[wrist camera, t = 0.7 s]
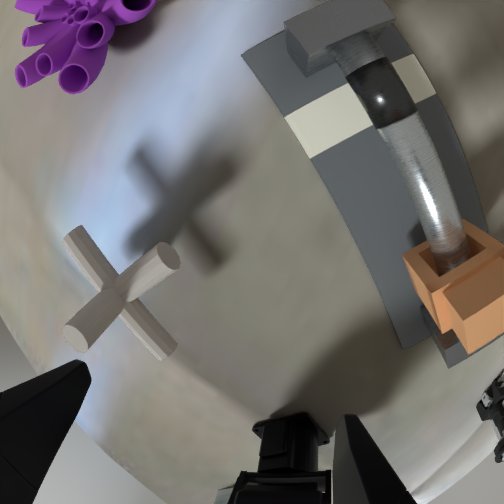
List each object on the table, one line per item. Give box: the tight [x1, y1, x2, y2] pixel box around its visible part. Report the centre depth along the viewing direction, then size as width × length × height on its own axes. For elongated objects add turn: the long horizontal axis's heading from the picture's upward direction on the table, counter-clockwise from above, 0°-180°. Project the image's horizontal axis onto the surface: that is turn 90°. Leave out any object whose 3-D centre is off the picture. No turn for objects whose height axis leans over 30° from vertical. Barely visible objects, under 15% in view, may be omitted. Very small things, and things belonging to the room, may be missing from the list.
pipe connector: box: [62, 225, 181, 361], centre depth 18 cm, size 10×10×10 cm
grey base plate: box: [241, 23, 488, 350], centre depth 17 cm, size 25×10×1 cm, turn 32°
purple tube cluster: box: [15, 0, 157, 94], centre depth 12 cm, size 11×15×10 cm
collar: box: [402, 219, 504, 355], centre depth 13 cm, size 3×5×8 cm, turn 122°
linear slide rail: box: [284, 0, 504, 369], centre depth 14 cm, size 22×5×5 cm, turn 32°
